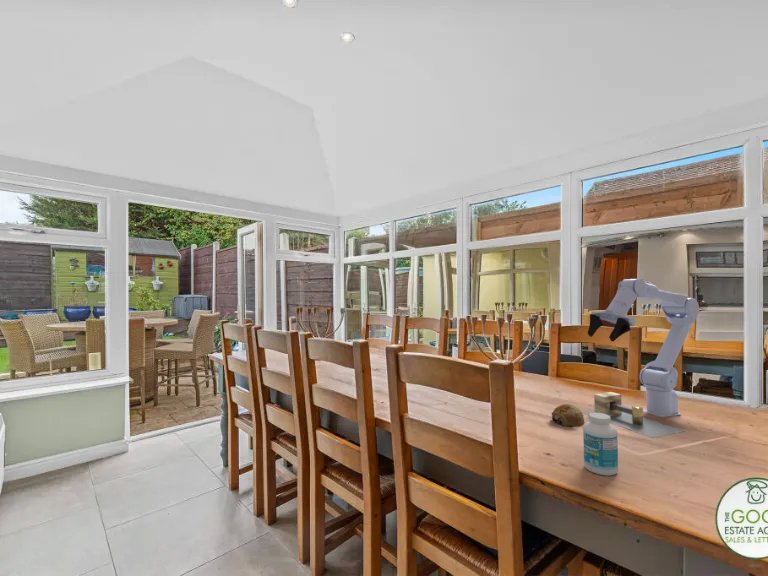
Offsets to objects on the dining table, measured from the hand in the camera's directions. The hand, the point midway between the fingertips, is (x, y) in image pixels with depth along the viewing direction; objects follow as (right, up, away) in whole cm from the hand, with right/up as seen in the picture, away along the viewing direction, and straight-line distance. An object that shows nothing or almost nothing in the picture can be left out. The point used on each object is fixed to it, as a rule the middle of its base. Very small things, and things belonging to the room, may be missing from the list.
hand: (600, 337), depth 127 cm
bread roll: (-10, -30, +2) cm, 31 cm away
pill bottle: (-18, -29, -33) cm, 47 cm away
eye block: (+7, -28, +7) cm, 30 cm away
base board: (+10, -29, 0) cm, 30 cm away
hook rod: (+9, -28, +3) cm, 29 cm away
